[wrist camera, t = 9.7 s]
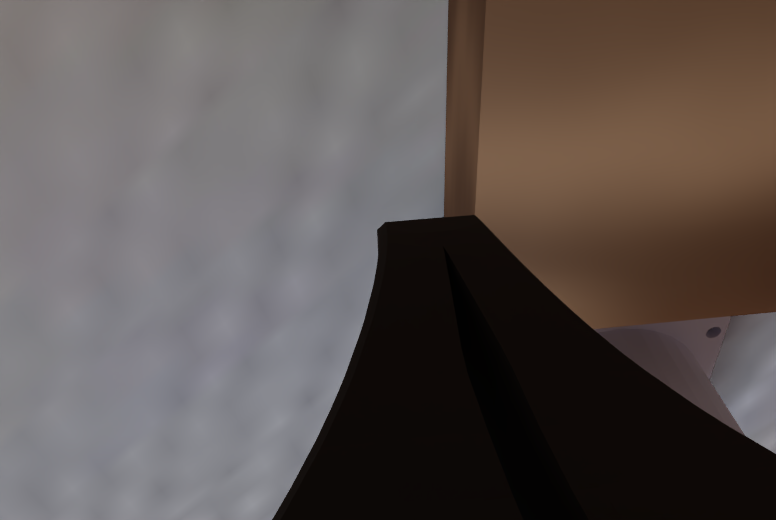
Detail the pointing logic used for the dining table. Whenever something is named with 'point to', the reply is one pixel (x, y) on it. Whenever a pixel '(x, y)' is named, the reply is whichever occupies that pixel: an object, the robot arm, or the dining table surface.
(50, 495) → the dining table surface
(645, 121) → the deck
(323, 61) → the dining table surface
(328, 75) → the dining table surface
